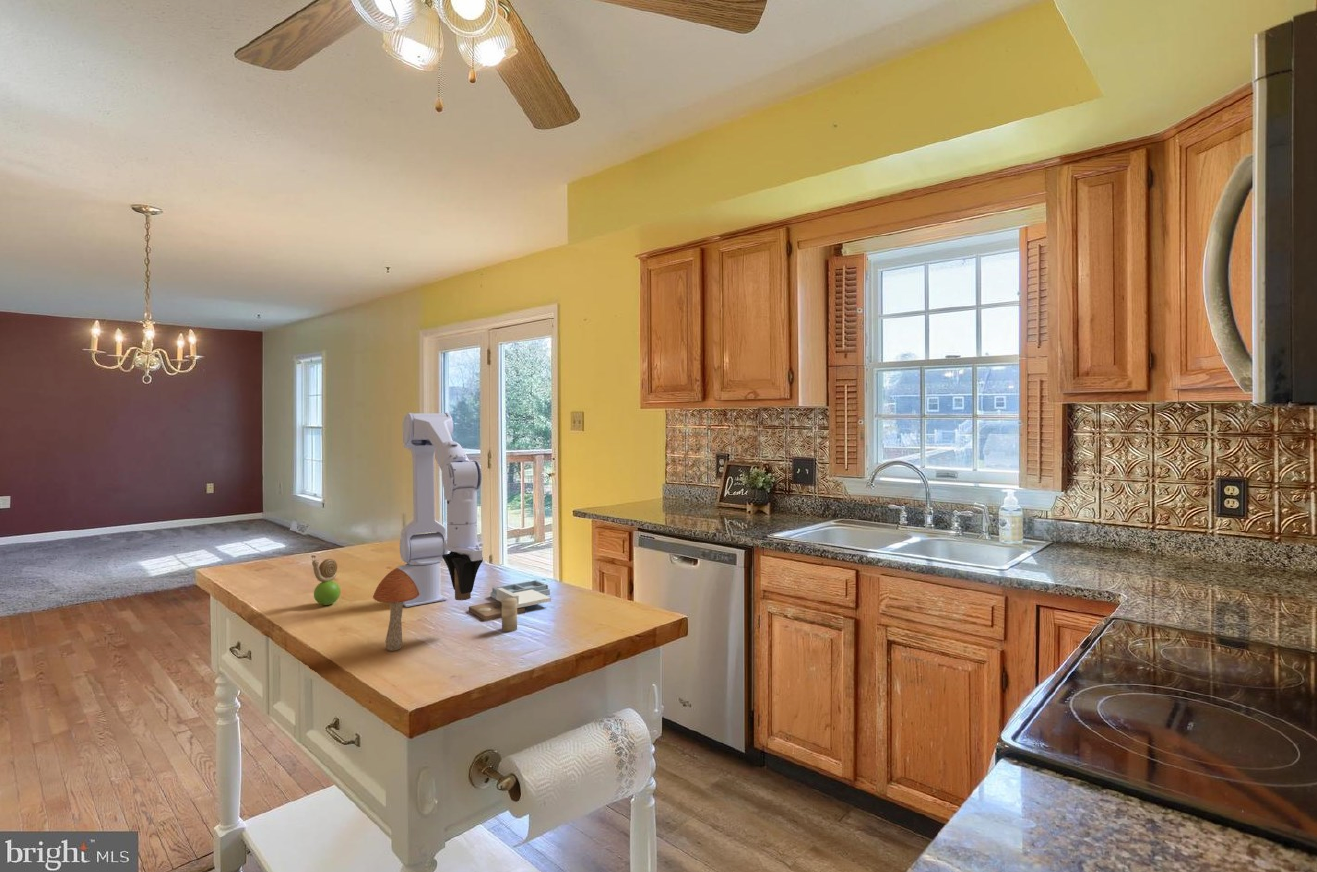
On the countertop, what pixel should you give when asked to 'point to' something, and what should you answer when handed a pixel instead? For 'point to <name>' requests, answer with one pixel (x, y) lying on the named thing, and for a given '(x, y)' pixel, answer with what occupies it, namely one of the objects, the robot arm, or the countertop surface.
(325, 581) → the snail figurine
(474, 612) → the board
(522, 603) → the cover
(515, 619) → the maple peg
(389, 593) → the mushroom
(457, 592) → the walnut peg
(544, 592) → the socket board
